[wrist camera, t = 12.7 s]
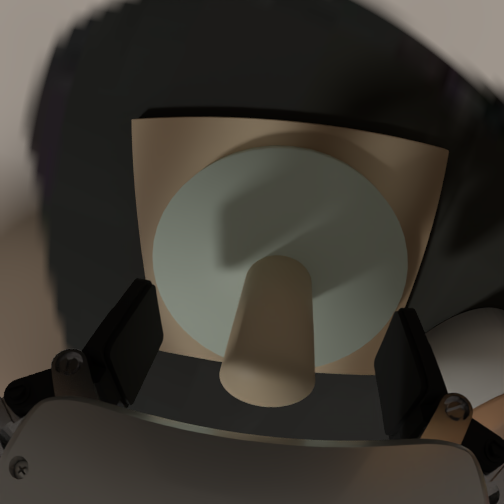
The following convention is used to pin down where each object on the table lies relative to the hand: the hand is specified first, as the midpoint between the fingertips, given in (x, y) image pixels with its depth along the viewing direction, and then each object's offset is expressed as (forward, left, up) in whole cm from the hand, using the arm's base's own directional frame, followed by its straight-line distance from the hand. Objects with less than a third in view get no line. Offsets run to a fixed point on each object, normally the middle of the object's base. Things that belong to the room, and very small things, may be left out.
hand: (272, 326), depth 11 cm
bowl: (-14, +7, -4) cm, 16 cm away
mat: (0, 0, -4) cm, 4 cm away
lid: (0, 0, -4) cm, 4 cm away
